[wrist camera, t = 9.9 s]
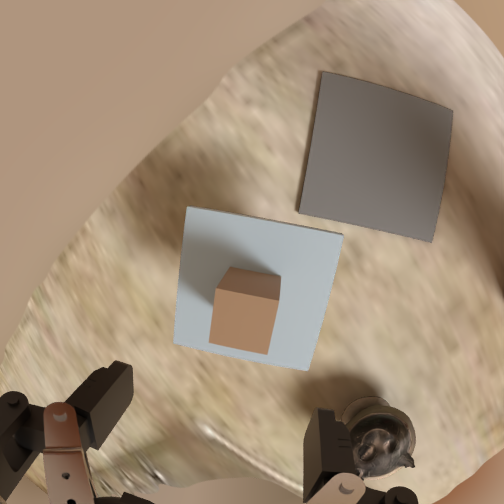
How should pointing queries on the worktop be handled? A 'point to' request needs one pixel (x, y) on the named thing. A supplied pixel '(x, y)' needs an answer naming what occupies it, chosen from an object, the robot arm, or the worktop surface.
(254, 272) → the lid
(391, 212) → the mat
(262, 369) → the worktop surface
